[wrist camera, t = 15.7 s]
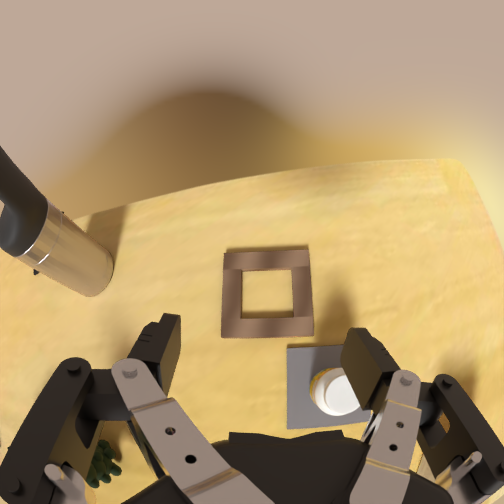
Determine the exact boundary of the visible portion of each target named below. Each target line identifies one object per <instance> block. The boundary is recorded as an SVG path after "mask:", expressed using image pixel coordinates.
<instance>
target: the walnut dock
mask: <svg viewBox="0 0 504 504" xmlns="http://www.w3.org/2000/svg"><path fill="white" fill-rule="evenodd" d="M267 270H292V290H293V316H294V317H290V318H258V319H241V303H242V271H267ZM306 336H314V327H313V308H312V291H311V277H310V264H309V252H308V250H286V251H264V252H241V253H224V265H223V289H222V318H221V338H284V337H306Z"/></svg>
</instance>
